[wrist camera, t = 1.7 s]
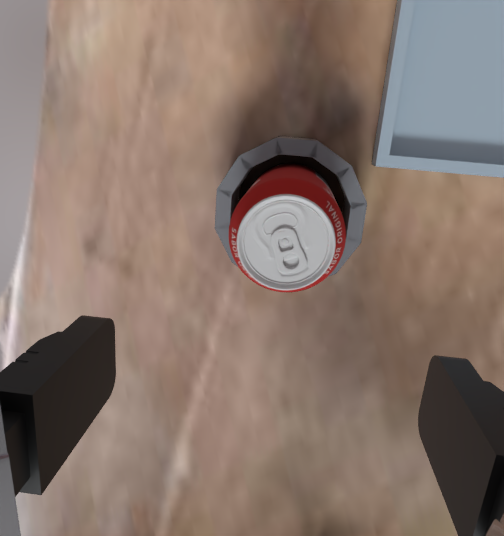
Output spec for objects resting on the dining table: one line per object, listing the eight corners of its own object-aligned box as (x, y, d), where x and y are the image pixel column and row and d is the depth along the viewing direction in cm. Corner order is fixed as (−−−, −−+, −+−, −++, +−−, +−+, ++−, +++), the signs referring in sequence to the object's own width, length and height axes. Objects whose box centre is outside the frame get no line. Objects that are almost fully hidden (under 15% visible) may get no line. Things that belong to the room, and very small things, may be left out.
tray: (619, -33, 28) (640, -44, 26) (558, 180, 32) (573, 183, 30) (404, -45, 29) (410, -56, 27) (371, 164, 33) (375, 166, 31)
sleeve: (366, 143, 32) (376, 146, 28) (346, 273, 35) (352, 293, 31) (230, 131, 33) (220, 132, 29) (222, 260, 36) (212, 278, 32)
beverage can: (237, 177, 34) (206, 203, 23) (319, 150, 33) (329, 163, 22) (263, 254, 36) (246, 315, 24) (342, 232, 35) (363, 284, 23)
